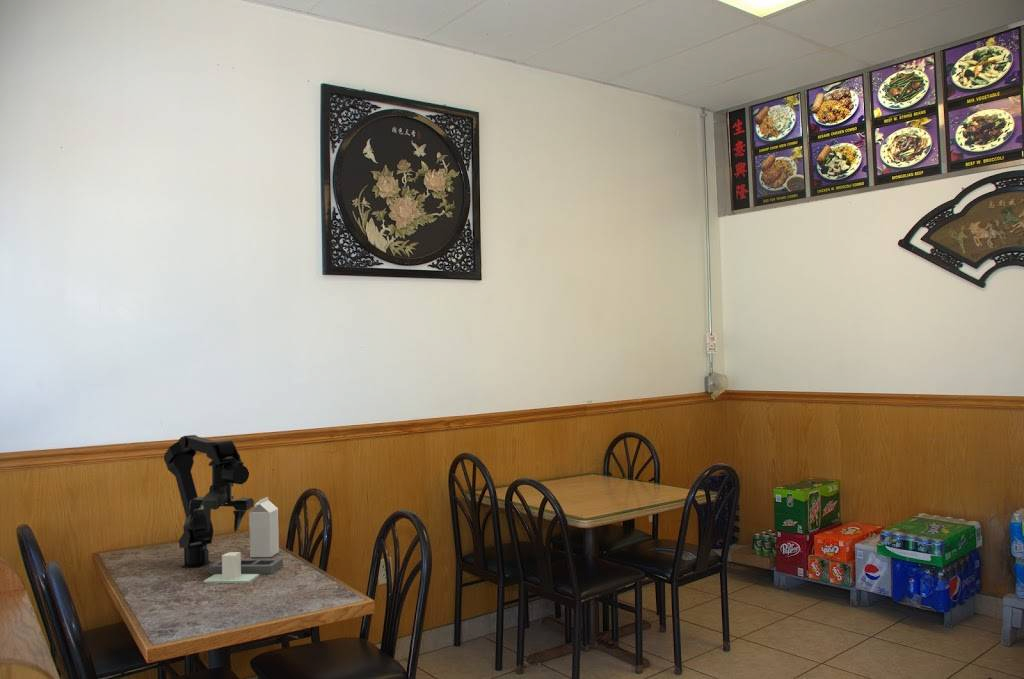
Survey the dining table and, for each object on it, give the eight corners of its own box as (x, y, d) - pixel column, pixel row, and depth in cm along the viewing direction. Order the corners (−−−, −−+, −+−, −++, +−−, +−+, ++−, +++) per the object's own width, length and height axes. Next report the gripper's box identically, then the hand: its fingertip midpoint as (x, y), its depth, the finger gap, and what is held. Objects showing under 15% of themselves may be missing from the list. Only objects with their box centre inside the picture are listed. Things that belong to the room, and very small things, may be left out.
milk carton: (279, 552, 264) (277, 496, 265) (270, 557, 257) (269, 500, 258) (259, 552, 265) (257, 496, 265) (250, 557, 258) (248, 500, 258)
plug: (222, 579, 231) (221, 555, 231) (228, 575, 235) (227, 552, 235) (235, 579, 230) (234, 555, 231) (241, 575, 234) (240, 552, 235)
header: (208, 574, 239) (208, 566, 239) (222, 566, 248) (222, 558, 248) (271, 574, 237) (271, 566, 237) (282, 566, 246) (282, 558, 246)
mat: (203, 582, 230) (203, 580, 230) (215, 576, 237) (215, 574, 237) (249, 582, 228) (249, 580, 228) (259, 576, 235) (259, 574, 235)
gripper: (179, 485, 235) (179, 536, 235) (238, 486, 233) (238, 538, 233) (198, 478, 246) (198, 527, 246) (254, 479, 244) (254, 529, 244)
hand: (221, 530), depth 242 cm, fingers open, 9 cm apart
